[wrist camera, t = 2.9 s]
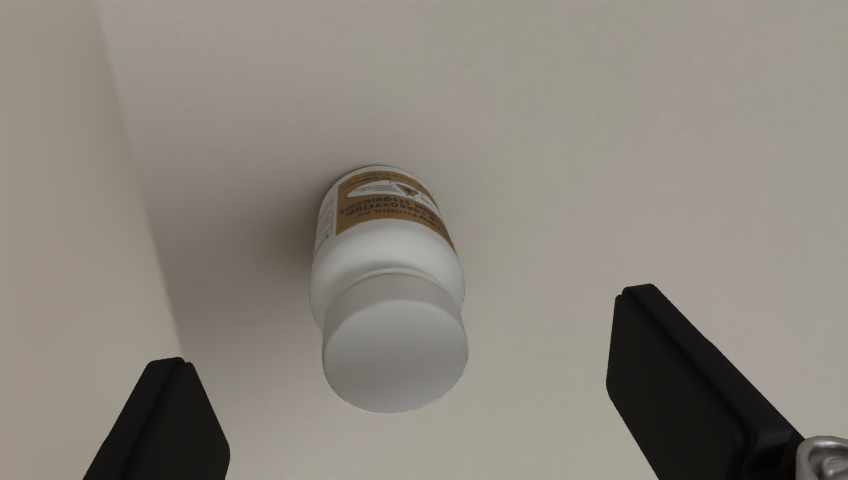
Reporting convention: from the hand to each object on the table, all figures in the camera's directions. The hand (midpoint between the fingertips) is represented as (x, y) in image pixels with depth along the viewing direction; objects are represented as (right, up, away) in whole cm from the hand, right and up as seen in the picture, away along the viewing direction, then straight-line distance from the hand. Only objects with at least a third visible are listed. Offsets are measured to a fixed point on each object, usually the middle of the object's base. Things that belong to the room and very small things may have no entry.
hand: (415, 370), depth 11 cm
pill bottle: (-1, +4, +7) cm, 8 cm away
